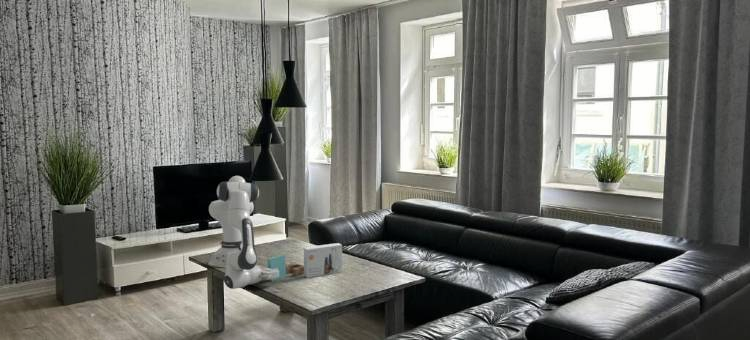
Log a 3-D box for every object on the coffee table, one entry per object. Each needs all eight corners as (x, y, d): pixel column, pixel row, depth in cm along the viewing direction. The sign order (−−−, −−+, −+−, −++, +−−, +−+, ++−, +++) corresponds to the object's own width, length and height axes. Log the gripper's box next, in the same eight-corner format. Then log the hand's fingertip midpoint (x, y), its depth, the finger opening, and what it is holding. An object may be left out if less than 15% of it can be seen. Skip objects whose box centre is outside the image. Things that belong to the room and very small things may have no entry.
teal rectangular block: (271, 281, 307) (270, 259, 305) (268, 280, 308) (267, 258, 307) (286, 276, 314) (285, 255, 313) (283, 276, 316) (282, 254, 314)
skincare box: (307, 278, 311) (306, 249, 309) (303, 276, 315) (302, 247, 314) (343, 272, 320) (342, 244, 319) (339, 270, 325) (338, 242, 323)
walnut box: (296, 276, 314) (296, 269, 314) (283, 273, 321) (283, 266, 321) (307, 273, 320) (307, 266, 320) (294, 270, 327) (293, 263, 327)
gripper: (266, 271, 292) (287, 265, 302) (241, 265, 305) (262, 260, 315) (266, 284, 292) (287, 277, 303) (241, 277, 306) (262, 271, 316)
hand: (274, 268), depth 309 cm, fingers closed on teal rectangular block, 2 cm apart
